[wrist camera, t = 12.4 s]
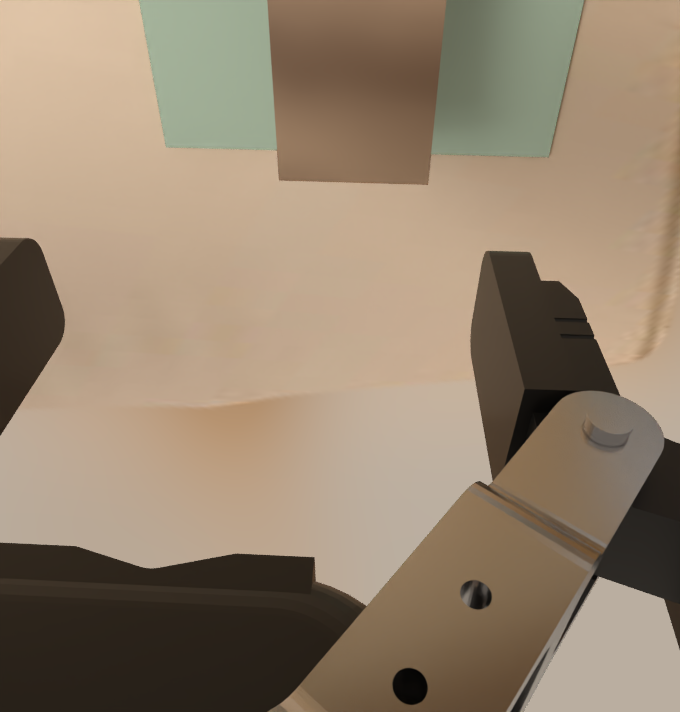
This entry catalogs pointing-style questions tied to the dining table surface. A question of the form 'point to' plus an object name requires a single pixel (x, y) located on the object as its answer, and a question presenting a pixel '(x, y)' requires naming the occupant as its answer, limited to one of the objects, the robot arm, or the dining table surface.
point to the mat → (455, 85)
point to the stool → (355, 88)
